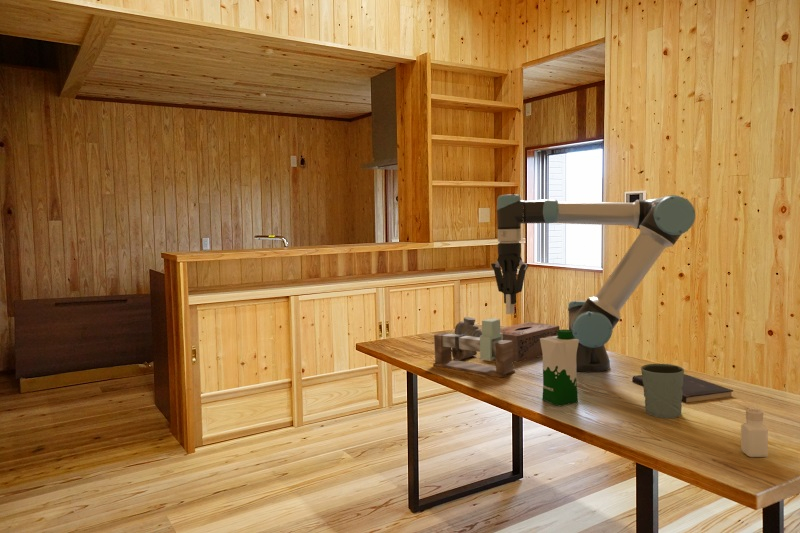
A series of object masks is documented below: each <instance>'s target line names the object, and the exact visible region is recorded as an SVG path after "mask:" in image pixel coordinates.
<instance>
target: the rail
mask: <svg viewBox="0 0 800 533" xmlns="http://www.w3.org/2000/svg"><path fill="white" fill-rule="evenodd" d="M433 337H434V338H433V340H434V362H433V366H435V367H441V368H446V369H451V370H458V371H461V372H462V371H463V372H469V373H474V374H480V375H486V376H491V375H492V377H496V376H498V378H504V377H506V376H510V375H512V374H514V373H516V370H515V369H514V362H513V341H510V340H496V339H492V354H496V359H495V366H493V365H492V366H491V365H488V364H487V365H486V364H481V363H474V362H469V361H462V360H454V359H453V357H452V352H451V350H452V348H455V349H457V350H459V349H464V350H471V351H477V353H478V352H479V353H480V337H472V336H466V335H465V334H462V335H456V334H455V333H451V332H444V331H443V332H439V333H437V334H434V335H433ZM509 374H510V375H509Z"/></svg>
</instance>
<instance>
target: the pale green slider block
mask: <svg viewBox="0 0 800 533" xmlns="http://www.w3.org/2000/svg"><path fill="white" fill-rule="evenodd" d="M500 328H501V319H500V318H499V319H498V318H487V319H484V320H483V319H482V320H481V331H482V335H481V336H480V352H479V353H480V354H479V355H480V356H479V357H480V359H479V360H482V361H489V362H491V361H494V360H496V354H492V339H496V340H503V333H500Z"/></svg>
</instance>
